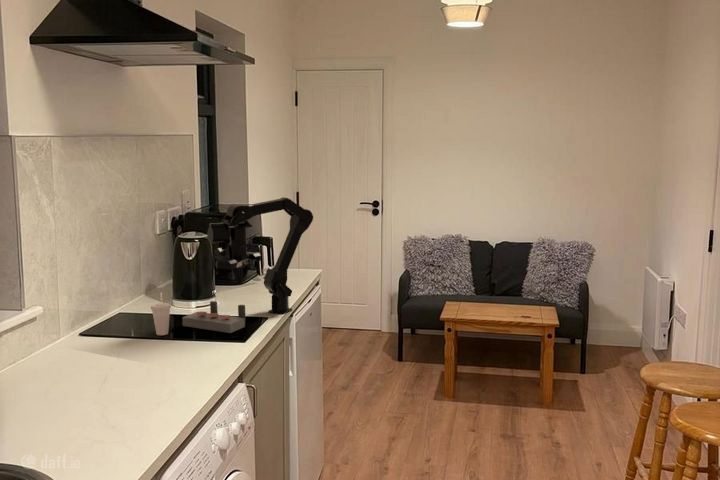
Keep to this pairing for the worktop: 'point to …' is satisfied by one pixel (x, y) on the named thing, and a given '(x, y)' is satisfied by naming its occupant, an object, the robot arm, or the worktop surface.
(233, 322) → the power strip
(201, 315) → the paddle left
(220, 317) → the paddle right
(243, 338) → the worktop surface
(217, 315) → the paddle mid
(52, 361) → the worktop surface
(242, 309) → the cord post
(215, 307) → the peg
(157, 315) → the smoothie
